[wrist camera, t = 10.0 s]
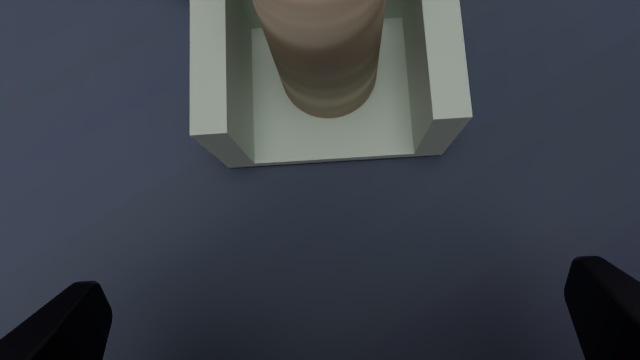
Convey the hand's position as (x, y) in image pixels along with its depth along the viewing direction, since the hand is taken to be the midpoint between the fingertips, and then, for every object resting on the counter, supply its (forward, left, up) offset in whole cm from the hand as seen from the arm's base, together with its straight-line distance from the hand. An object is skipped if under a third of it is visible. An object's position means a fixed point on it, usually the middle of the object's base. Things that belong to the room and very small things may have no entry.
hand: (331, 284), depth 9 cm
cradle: (+6, +6, -10) cm, 13 cm away
